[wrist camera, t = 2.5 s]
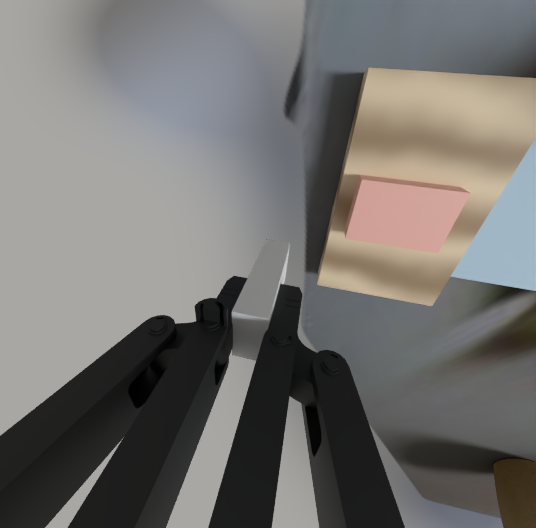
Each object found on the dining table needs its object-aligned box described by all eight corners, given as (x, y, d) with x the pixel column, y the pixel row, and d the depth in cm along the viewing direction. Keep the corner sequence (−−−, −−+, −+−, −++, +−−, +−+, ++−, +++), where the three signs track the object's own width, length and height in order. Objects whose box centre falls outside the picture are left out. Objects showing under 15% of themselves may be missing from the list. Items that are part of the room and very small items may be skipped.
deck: (363, 72, 21) (368, 67, 19) (540, 84, 20) (571, 80, 17) (318, 271, 34) (317, 284, 31) (424, 290, 32) (432, 306, 29)
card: (359, 174, 23) (361, 179, 22) (460, 186, 22) (470, 193, 20) (344, 230, 27) (345, 238, 25) (430, 244, 25) (438, 253, 24)
